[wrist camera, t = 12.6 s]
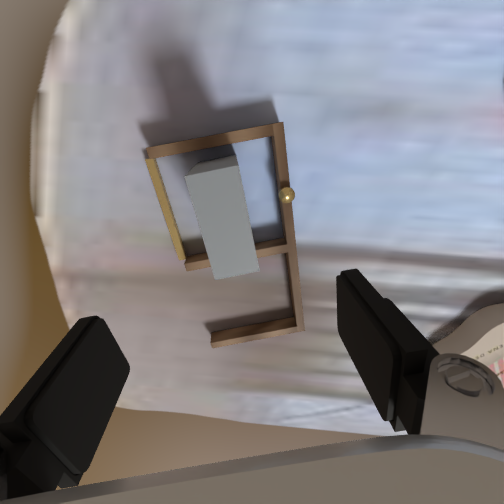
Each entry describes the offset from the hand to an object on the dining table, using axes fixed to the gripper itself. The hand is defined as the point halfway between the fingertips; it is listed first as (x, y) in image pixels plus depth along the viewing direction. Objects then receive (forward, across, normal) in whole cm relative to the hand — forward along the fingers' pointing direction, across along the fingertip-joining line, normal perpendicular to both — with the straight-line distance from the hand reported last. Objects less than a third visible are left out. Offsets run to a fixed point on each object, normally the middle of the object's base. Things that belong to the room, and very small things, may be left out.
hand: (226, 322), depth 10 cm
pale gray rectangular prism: (+20, 0, 0) cm, 20 cm away
